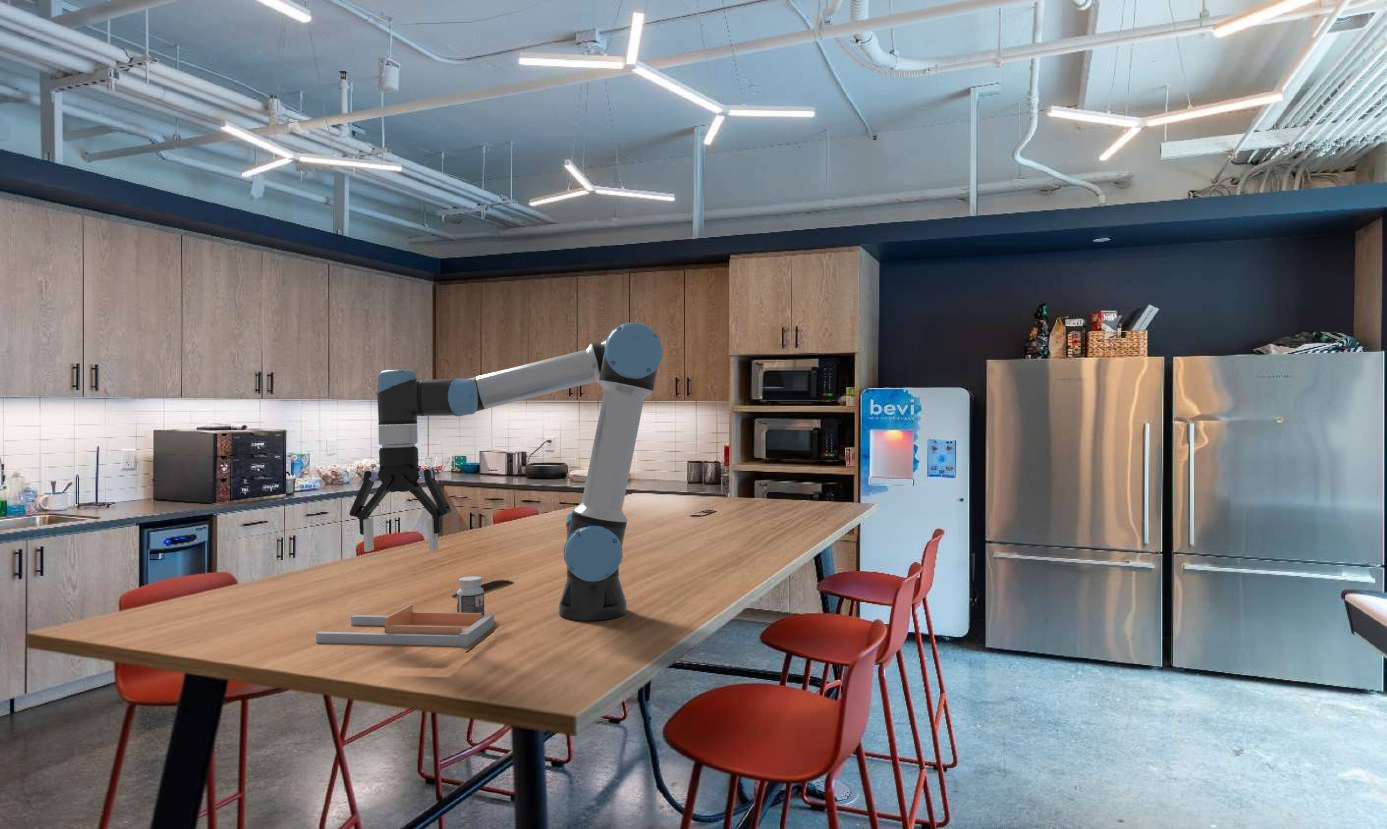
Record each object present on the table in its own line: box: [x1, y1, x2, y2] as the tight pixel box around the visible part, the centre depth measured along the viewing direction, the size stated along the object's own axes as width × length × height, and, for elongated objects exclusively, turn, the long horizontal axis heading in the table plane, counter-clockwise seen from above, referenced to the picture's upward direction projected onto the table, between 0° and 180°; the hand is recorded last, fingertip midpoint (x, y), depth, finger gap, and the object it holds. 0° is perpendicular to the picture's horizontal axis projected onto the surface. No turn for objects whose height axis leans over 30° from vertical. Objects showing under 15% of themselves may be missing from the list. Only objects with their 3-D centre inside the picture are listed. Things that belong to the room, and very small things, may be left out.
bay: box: [315, 614, 495, 654], centre depth 163 cm, size 30×15×4 cm, turn 85°
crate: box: [384, 604, 482, 635], centre depth 162 cm, size 15×11×4 cm
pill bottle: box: [456, 575, 485, 618], centre depth 175 cm, size 6×6×10 cm
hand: (401, 550), depth 166 cm, fingers open, 13 cm apart
